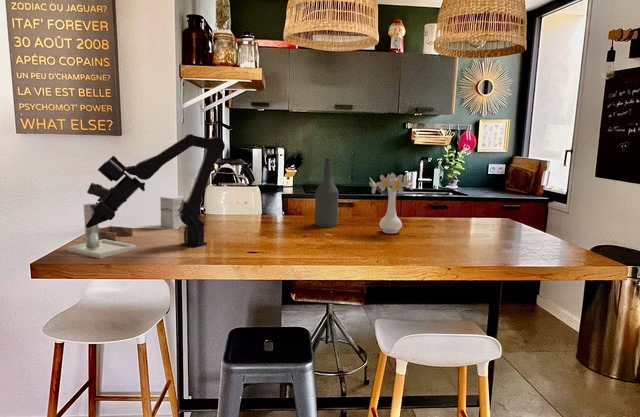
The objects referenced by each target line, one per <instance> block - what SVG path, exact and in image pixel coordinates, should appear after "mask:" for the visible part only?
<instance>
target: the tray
mask: <svg viewBox="0 0 640 417" xmlns="http://www.w3.org/2000/svg"><path fill="white" fill-rule="evenodd" d="M136 250H137V244H132V243H126V242H120V241H117V240H116V241H111V240H106V239H102V240H99V247H97V248H86V242H84V243H79V244H74V245H70V246H66V252H67V253H72V254H76V255H81V256H87V257H91V258H95V259H99V260H100V259H104V258H108V257H112V256H116V255H120V254H124V253H128V252H132V251H136Z"/></svg>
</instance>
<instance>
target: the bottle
mask: <svg viewBox="0 0 640 417" xmlns="http://www.w3.org/2000/svg"><path fill="white" fill-rule="evenodd" d="M331 160H332V159H331V157H325V160H324V162H325V163H324V168H323V169H324V171H323V176H322V177H323V178H322V180H321V182H320V184H319V185H318V186H317V188H316V189H315V192H314V193H315V196H314V225H315V226H316V227H320V228H335V227H336V226H337V225H338V212H339V211H338V210H339V190H338V188H337V186H336V185H335V183H334V181H333V180H332V169H331Z"/></svg>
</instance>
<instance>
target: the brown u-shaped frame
mask: <svg viewBox="0 0 640 417" xmlns="http://www.w3.org/2000/svg"><path fill="white" fill-rule="evenodd" d="M117 235H118V236H127V237H128V236H129V237H133V236H134V227H128V226H127V227H126V226H115V225H109V226H106V227H101V228H99V240H102V239H106V240H111V241H117Z"/></svg>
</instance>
